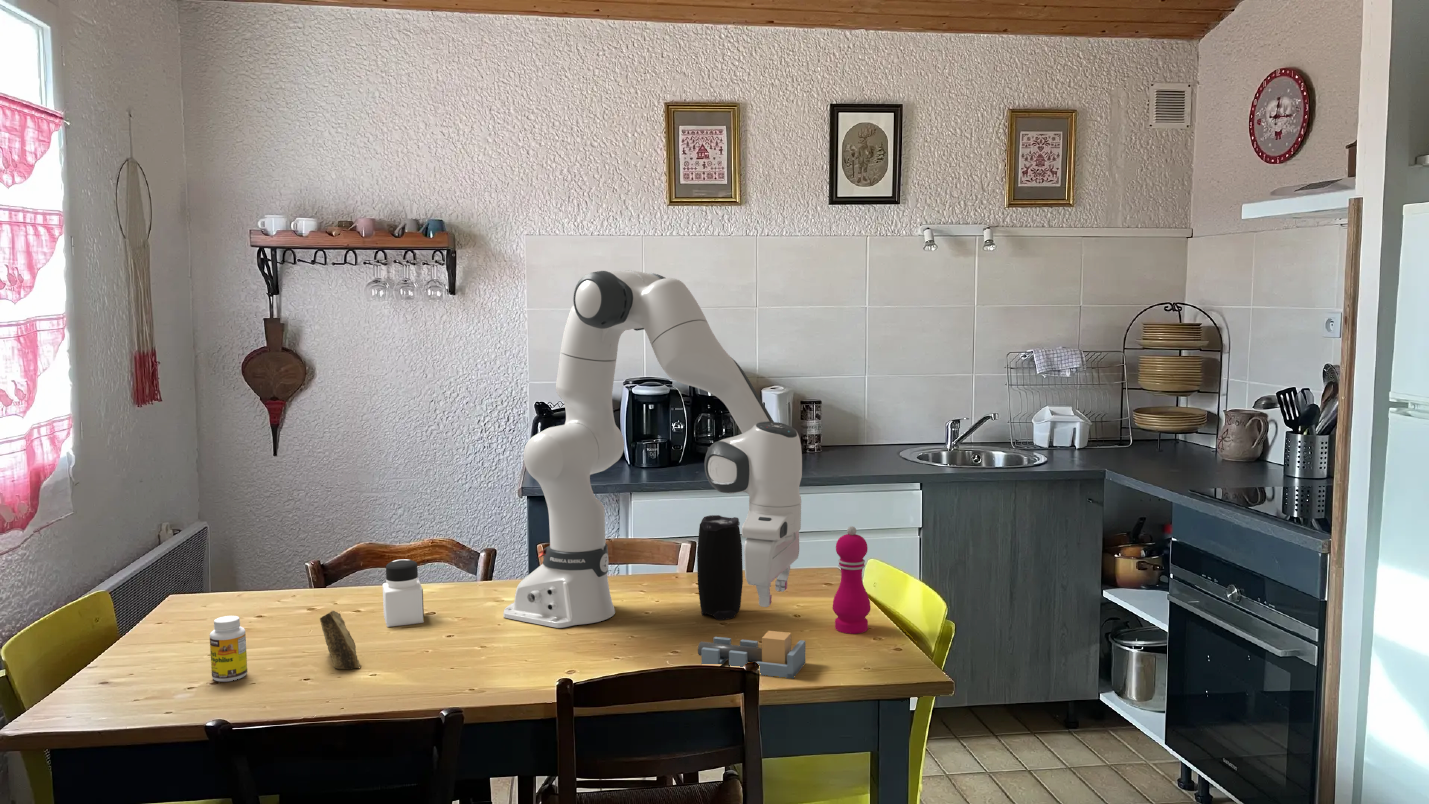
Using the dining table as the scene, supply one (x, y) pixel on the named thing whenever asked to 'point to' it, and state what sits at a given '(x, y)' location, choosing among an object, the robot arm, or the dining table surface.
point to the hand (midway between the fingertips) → (773, 597)
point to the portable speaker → (719, 566)
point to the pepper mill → (851, 585)
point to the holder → (793, 663)
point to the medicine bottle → (402, 594)
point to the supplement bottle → (228, 649)
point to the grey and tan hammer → (771, 651)
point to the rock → (339, 641)
